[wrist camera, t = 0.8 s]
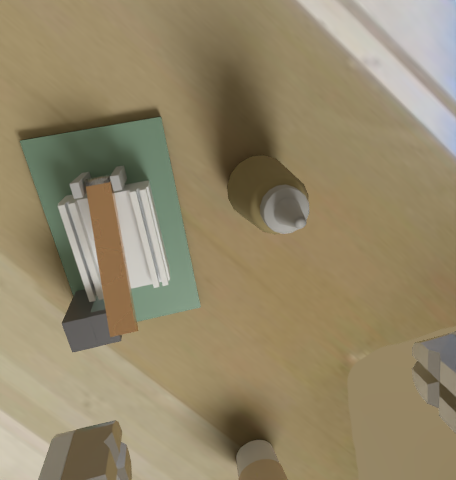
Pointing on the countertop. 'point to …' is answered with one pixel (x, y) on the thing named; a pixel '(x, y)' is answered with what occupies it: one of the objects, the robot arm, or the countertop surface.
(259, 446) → the coffee cup
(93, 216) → the strap
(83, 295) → the block
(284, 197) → the squeeze bottle
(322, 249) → the countertop surface
